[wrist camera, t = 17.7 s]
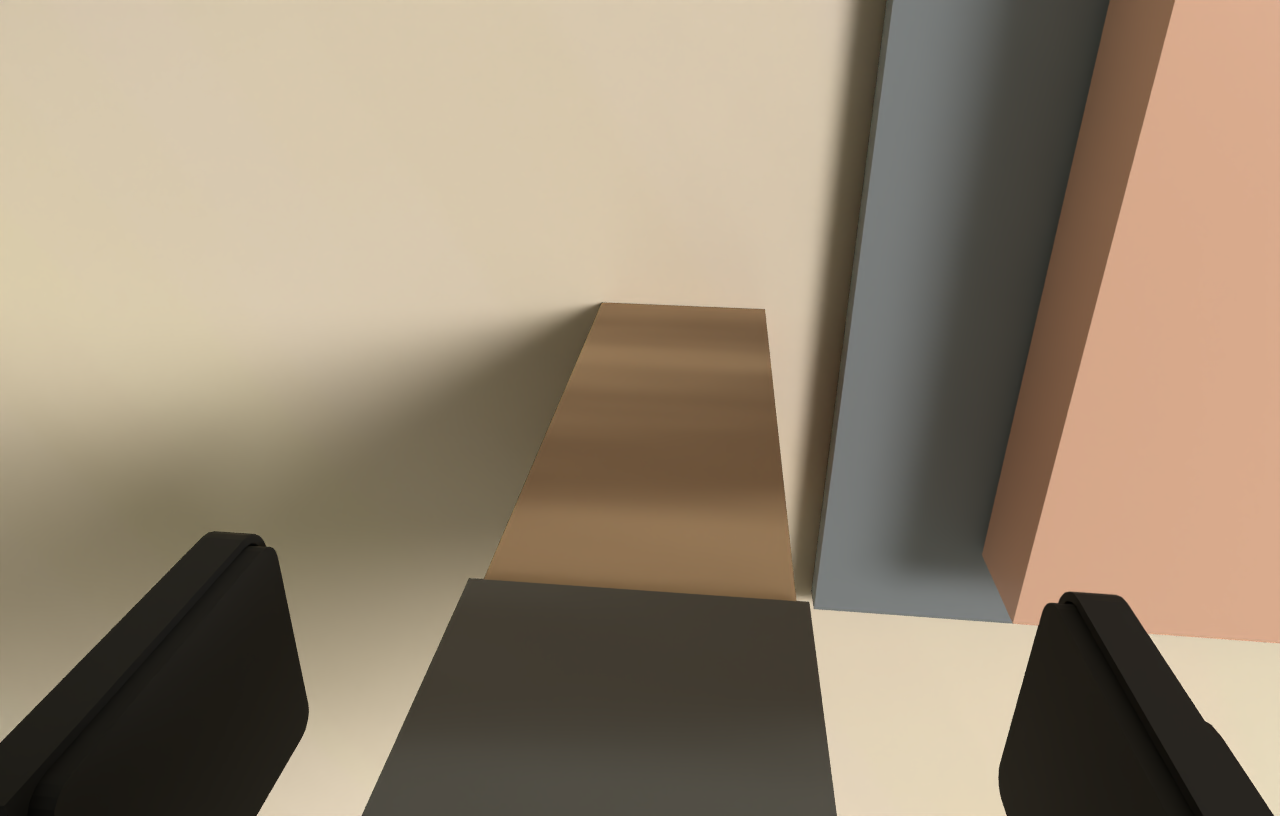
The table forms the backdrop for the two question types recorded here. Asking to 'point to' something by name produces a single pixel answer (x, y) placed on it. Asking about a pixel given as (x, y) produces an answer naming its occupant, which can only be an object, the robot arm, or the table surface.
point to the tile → (1159, 339)
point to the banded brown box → (633, 604)
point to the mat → (947, 294)
